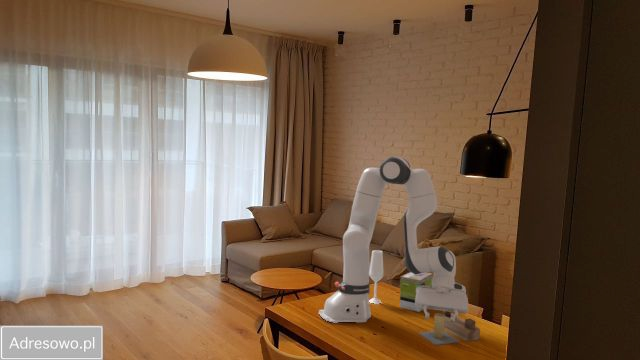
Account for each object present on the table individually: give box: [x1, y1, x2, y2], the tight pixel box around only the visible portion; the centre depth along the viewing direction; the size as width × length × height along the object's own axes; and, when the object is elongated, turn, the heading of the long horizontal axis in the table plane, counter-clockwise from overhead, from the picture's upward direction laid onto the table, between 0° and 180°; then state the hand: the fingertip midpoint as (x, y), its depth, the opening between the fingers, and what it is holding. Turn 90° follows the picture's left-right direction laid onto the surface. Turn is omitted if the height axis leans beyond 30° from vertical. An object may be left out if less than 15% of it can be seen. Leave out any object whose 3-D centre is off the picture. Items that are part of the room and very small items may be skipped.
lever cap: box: [433, 312, 445, 339], centre depth 176 cm, size 4×4×8 cm
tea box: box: [399, 271, 434, 313], centre depth 212 cm, size 15×10×15 cm
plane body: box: [442, 311, 481, 342], centre depth 183 cm, size 7×18×7 cm, turn 22°
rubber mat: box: [418, 330, 461, 346], centre depth 176 cm, size 11×11×1 cm
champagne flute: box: [369, 249, 384, 305], centre depth 215 cm, size 7×7×24 cm
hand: (439, 319), depth 176 cm, fingers open, 8 cm apart
